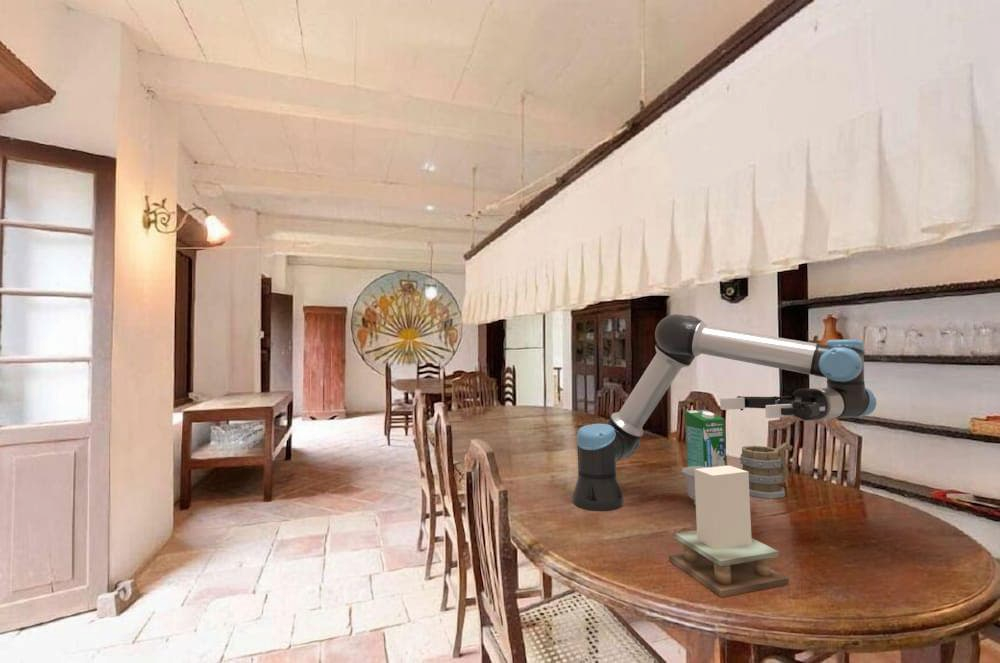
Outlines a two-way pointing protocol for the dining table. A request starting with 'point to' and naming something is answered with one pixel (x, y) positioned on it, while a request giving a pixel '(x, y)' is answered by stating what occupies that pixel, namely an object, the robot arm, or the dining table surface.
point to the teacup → (691, 480)
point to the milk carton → (705, 439)
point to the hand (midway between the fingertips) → (742, 407)
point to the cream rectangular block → (723, 507)
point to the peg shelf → (737, 576)
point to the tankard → (765, 470)
